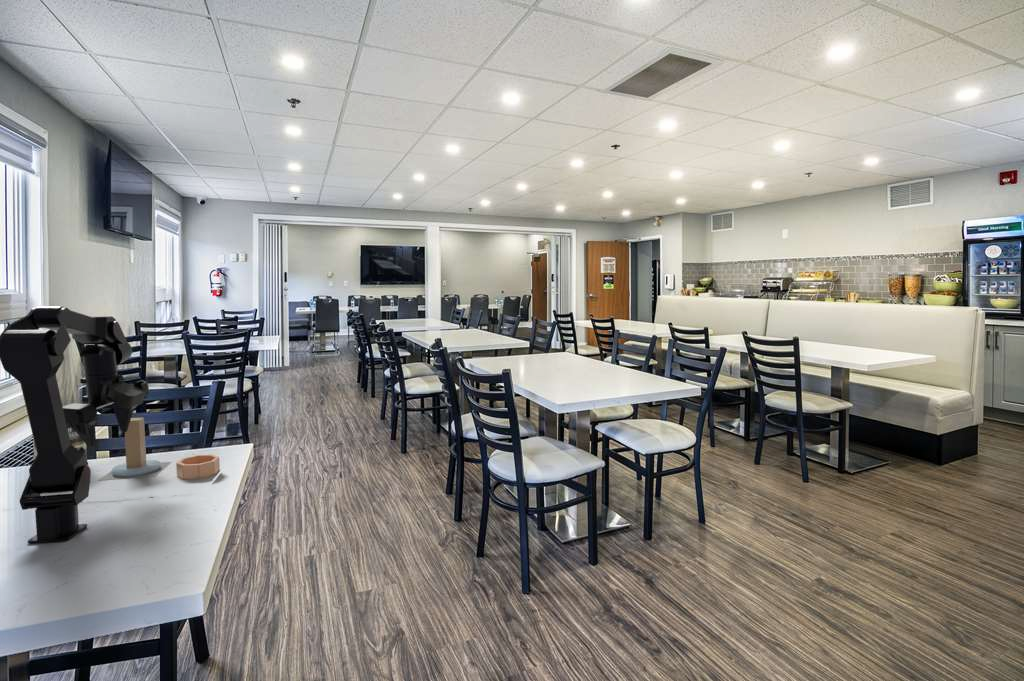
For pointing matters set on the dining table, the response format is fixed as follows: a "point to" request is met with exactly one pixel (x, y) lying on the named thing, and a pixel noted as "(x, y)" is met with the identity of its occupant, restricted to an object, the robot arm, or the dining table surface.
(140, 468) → the tan post on disc
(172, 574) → the dining table surface
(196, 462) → the bowl
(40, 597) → the dining table surface
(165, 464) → the mat
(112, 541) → the dining table surface
